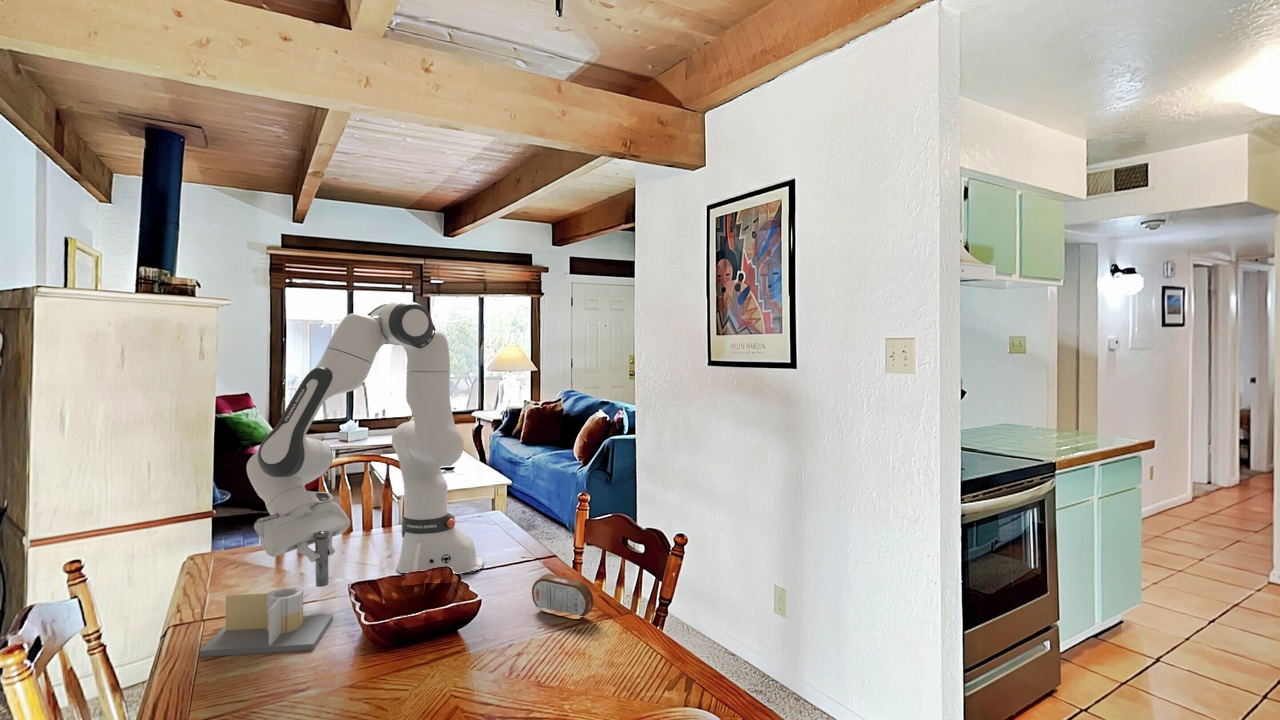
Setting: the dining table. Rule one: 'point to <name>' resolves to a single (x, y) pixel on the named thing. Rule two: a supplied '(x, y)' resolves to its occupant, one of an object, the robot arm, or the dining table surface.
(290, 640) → the hinge
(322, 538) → the hinge pin
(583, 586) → the tin
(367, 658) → the dining table surface
